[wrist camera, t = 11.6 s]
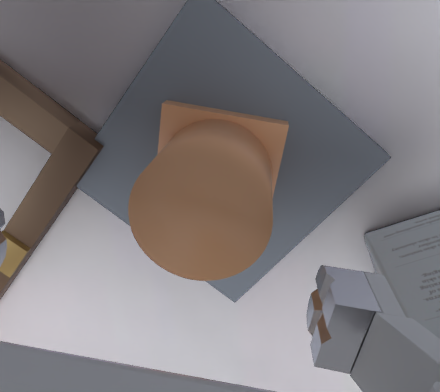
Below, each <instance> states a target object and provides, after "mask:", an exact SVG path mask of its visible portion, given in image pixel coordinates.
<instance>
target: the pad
mask: <svg viewBox="0 0 440 392" xmlns="http://www.w3.org/2000/svg"><path fill="white" fill-rule="evenodd" d="M166 100H169V101H175V102H181V103H186V104H192V105H198V106H204V107H209V108H215V109H221V110H226V111H232V112H238V113H244V114H249V115H255V116H261V117H266V118H272V119H278V120H284V121H288V124H289V128H288V132H287V137H286V141H285V146H284V150H283V154H282V159H281V163H280V168H279V172H278V177H277V181H276V185H275V190H274V194H273V227H272V233H271V236H270V240H269V242H268V244H267V246H266V248H265V250H264V252H263V253H262V255H261V256H260V257H259V258H258V259H257V260H256V261H255V262H254V263H253V264H252V265H251V266H250V267H248V268H247V269H245V270H244V271H242V272H240V273H238V274H236V275H234V276H231V277H228V278H225V279H220V280H212V281H206V282H207V283H209V284H210V285H211V286H213V287H214V288H216V289H217V290H218V291H220V292H221V293H222V294H224V295H225V296H226V297H228V298H229V299H231V300H232V301H233V302H236V301H237V300H238V299H239V298H240V297H242V296H243V295H244V294H245V293H246V292H247V291H248V290H249V289H250V288H251V287H252V286H253V285H254V284H256V283H257V282H258V281H259V280H260V279H261V278H262V277H263V276H264V275H265V274H266V273H267V272H268V271H270V270H271V269H272V268H273V267H274V266H275V265H276V264H277V263H278V262H279V261H280V260H281V259H282V258H284V257H285V256H286V255H287V254H288V253H289V252H290V251H291V250H292V249H293V248H294V247H295V246H296V245H298V244H299V243H300V242H301V241H302V240H303V239H304V238H305V237H306V236H307V235H308V234H309V233H310V232H312V231H313V230H314V229H315V228H316V227H317V226H318V225H319V224H320V223H321V222H322V221H323V220H324V219H326V218H327V217H328V216H329V215H330V214H331V213H332V212H333V211H334V210H335V209H336V208H337V207H338V206H340V205H341V204H342V203H343V202H344V201H345V200H346V199H347V198H348V197H349V196H350V195H351V194H352V193H354V192H355V191H356V190H357V189H358V188H359V187H360V186H361V185H362V184H363V183H364V182H365V181H366V180H368V179H369V178H370V177H371V176H372V175H373V174H374V173H375V172H376V171H377V170H378V169H379V168H380V167H382V166H383V165H384V164H385V163H386V162H387V161H388V160H389V159H390V158H391V156H390V155H389V154H388V153H387V152H385V151H384V150H383V149H382V148H381V147H380V146H379V145H378V144H376V143H375V142H374V141H373V140H372V139H371V138H370V137H369V136H367V135H366V134H365V133H364V132H363V131H362V130H361V129H360V128H358V127H357V126H356V125H355V124H354V123H353V122H352V121H351V120H349V119H348V118H347V117H346V116H345V115H344V114H343V113H342V112H340V111H339V110H338V109H337V108H336V107H335V106H334V105H333V104H331V103H330V102H329V101H328V100H327V99H326V98H325V97H324V96H322V95H321V94H320V93H319V92H318V91H317V90H316V89H315V88H313V87H312V86H311V85H310V84H309V83H308V82H307V81H306V80H304V79H303V78H302V77H301V76H300V75H299V74H298V73H297V72H295V71H294V70H293V69H292V68H291V67H290V66H289V65H288V64H286V63H285V62H284V61H283V60H282V59H281V58H280V57H279V56H277V55H276V54H275V53H274V52H273V51H272V50H271V49H269V48H268V47H267V46H266V45H265V44H264V43H263V42H262V41H260V40H259V39H258V38H257V37H256V36H255V35H254V34H253V33H251V32H250V31H249V30H248V29H247V28H246V27H245V26H244V25H242V24H241V23H240V22H239V21H238V20H237V19H236V18H235V17H233V16H232V15H231V14H230V13H229V12H228V11H227V10H226V9H224V8H223V7H222V6H221V5H220V4H219V3H218V2H217V1H215V0H187V2H186V3H185V5H184V6H183V8H182V9H181V11H180V12H179V14H178V15H177V17H176V18H175V20H174V21H173V23H172V24H171V26H170V27H169V29H168V30H167V32H166V33H165V35H164V36H163V38H162V39H161V41H160V42H159V44H158V45H157V47H156V48H155V50H154V51H153V52H152V54H151V55H150V57H149V58H148V60H147V61H146V63H145V64H144V66H143V67H142V69H141V70H140V72H139V73H138V75H137V76H136V78H135V79H134V81H133V82H132V84H131V85H130V87H129V88H128V90H127V91H126V93H125V94H124V96H123V97H122V99H121V100H120V102H119V103H118V105H117V106H116V108H115V109H114V111H113V112H112V113H111V115H110V116H109V118H108V119H107V121H106V122H105V124H104V125H103V127H102V128H101V130H100V131H99V133H98V134H97V136H96V137H95V140H96V141H97V142H99V143H100V144H101V145H103V146H104V147H103V148H102V150H101V151H100V153H99V154H98V155H97V157H96V158H95V160H94V161H93V163H92V164H91V166H90V167H89V168H88V170H87V171H86V173H85V174H84V176H83V177H82V179H81V180H80V181H79V183H78V184H77V186H76V187H78V188H79V189H80V190H82V191H83V192H84V193H86V194H87V195H89V196H90V197H91V198H93V199H94V200H95V201H97V202H98V203H99V204H101V205H102V206H104V207H105V208H106V209H108V210H109V211H110V212H112V213H113V214H114V215H116V216H117V217H119V218H120V219H121V220H123V221H124V222H125V223H127V224H128V225H130V223H129V216H128V204H129V197H130V194H131V190H132V188H133V186H134V183H135V181H136V180H137V178H138V177H139V175H140V174H141V173H142V172H143V171H144V169H145V168H146V167H147V166H148V165H149V164H150V163H151V161H152V160H153V159H154V158H155V157H156V156H157V154H158V143H159V131H160V120H161V109H162V103H163V102H165V101H166Z"/></svg>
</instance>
